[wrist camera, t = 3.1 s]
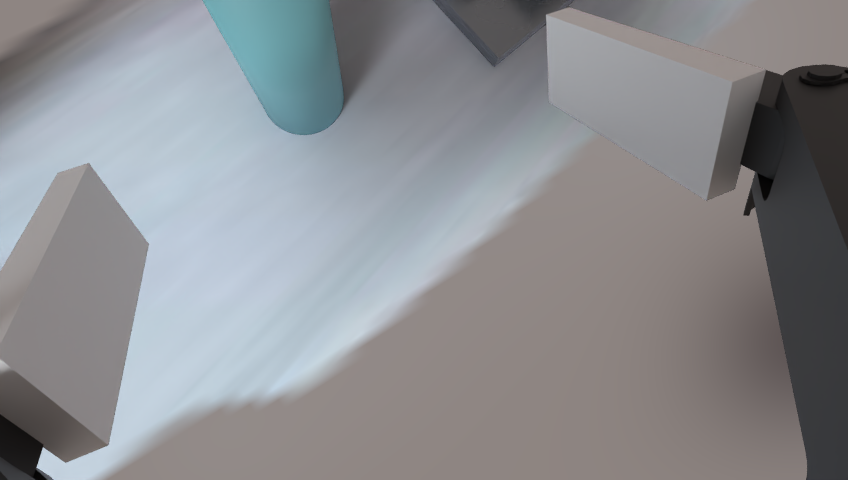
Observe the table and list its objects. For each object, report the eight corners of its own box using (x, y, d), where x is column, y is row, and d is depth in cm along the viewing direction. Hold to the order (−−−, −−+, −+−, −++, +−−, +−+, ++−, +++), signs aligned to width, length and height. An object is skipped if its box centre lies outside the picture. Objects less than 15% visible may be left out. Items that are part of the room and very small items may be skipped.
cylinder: (270, 141, 26) (179, -1, 14) (256, 65, 26) (157, -133, 14) (350, 127, 26) (328, -20, 14) (335, 53, 27) (302, -147, 15)
